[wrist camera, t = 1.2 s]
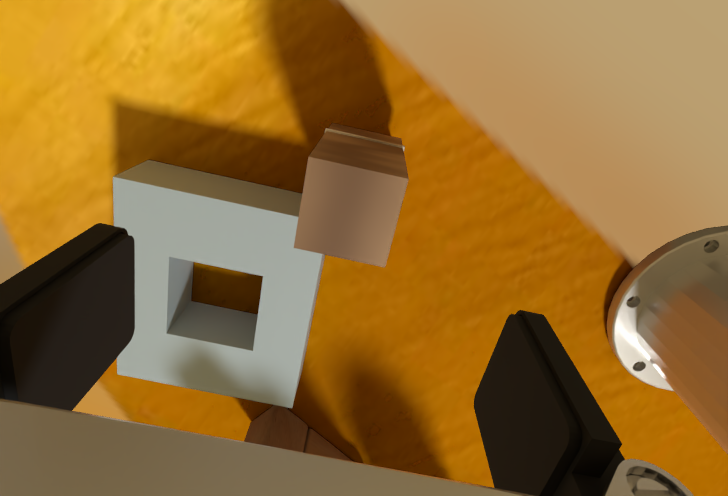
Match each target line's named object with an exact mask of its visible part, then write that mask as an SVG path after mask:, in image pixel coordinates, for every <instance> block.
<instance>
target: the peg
mask: <svg viewBox="0 0 728 496" xmlns="http://www.w3.org/2000/svg"><path fill="white" fill-rule="evenodd" d="M404 148H405V146H403V145H402V140H401V138H397V137H392V136H388V135H383V134H379V133H375V132H370V131H366V130H362V129H357V128H353V127H348V126H344V125H340V124H335V123H332V124H331V125H330V127H329V128H326V129H325V133H324V135H323V137H322V138H321V139H320V141H319V142H318V144H317V145H316V147H315V148H314V149H313V151H312V152H311V154H310V155H309V157H308V163H307V169H306V175H305V181H304V187H303V193H302V199H301V205H300V211H299V217H298V224H297V230H296V236H295V242H294V248H297V249H301V250H306V251H311V252H315V253H320V254H325V255H329V256H334V257H339V258H343V259H348V260H353V261H357V262H362V263H367V264H372V265H376V266H381V267H385V265H386V262H387V258H388V254H389V250H390V247H391V243H392V239H393V235H394V232H395V228H396V224H397V220H398V217H399V213H400V209H401V205H402V202H403V198H404V194H405V190H406V186H407V183H408V174H407V168H406V162H405V157H404Z"/></svg>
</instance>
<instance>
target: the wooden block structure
mask: <svg viewBox="0 0 728 496" xmlns="http://www.w3.org/2000/svg"><path fill="white" fill-rule="evenodd" d="M244 442H248V443H254V444H259V445H265V446H270V447H276V448H281V449H287V450H292V451H298V452H303V453H309V454H314V455H320V456H325V457H331V458H336V459H341V460H347V461H352V460H351V459H349V458H348V457H347V456H346V455H344V454H343V453H342V452H341V451H339V450H338V449H337V448H336V447H334V446H333V445H332V444H330V443H329V442H328V441H327V440H325V439H324V438H323V437H322V436H320V435H319V434H318V433H317V432H315V431H314V430H313V429H311V428H309V429H308V426H307V424H306V423H305V422H303V421H302V420H301V419H300V418H298V417H297V416H296V415H295V414H293V413H292V412H291V411H290V410H288V409H287V408H286V407H283V406H278V405H273V406H272V407H271V408H269V409H268V410H267V411H265V412H264V413H263V414H261V415H260V416H259V417H257V418H256V419H255V420H253V421H252V422H251V424H250V426H249V429H248V432H247V435H246V438H245V440H244ZM352 462H353V461H352Z"/></svg>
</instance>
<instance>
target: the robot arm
mask: <svg viewBox="0 0 728 496" xmlns="http://www.w3.org/2000/svg"><path fill="white" fill-rule="evenodd" d="M134 330H135V242H134V238H133V236H130V235H128V232H127V230H126V229H125V228H121V227H116V226H111V225H107V224H102V223H98V224H96V225H94V226H93V227H91V228H89V229H88V230H86V231H85V232H83V233H81V234H80V235H78V236H77V237H75V238H73V239H72V240H70V241H69V242H67V243H65V244H64V245H62V246H61V247H59V248H57V249H56V250H54V251H53V252H51V253H49V254H48V255H46V256H45V257H43V258H42V259H40V260H38V261H37V262H35V263H34V264H32V265H30V266H29V267H27V268H26V269H24V270H22V271H21V272H19V273H18V274H16V275H14V276H13V277H11V278H10V279H8V280H6V281H5V282H4V283H2V284H0V496H693V494H692V493H691V492H690V491H689V490H688V489H687V488H686V487H685V486H684V485H683V484H682V483H681V482H680V481H679V480H677V479H676V478H674V477H673V476H672V475H670V474H669V473H668V472H666V471H664V470H663V469H661V468H659V467H657V466H655V465H653V464H651V463H648V462H645V461H642V460H636V459H628V460H625V459H624V457H623V456H622V454H621V452H620V451H619V448H620V447H621V445H622V443H621V441H620V440H619V438H618V437H617V435H616V433H615V432H614V430H613V428H612V427H611V425H610V423H609V422H608V420H607V418H606V417H605V415H604V413H603V412H602V410H601V408H600V407H599V405H598V404H597V402H596V400H595V399H594V397H593V395H592V394H591V392H590V390H589V389H588V387H587V385H586V384H585V382H584V380H583V379H582V377H581V375H580V374H579V372H578V371H577V369H576V367H575V366H574V364H573V362H572V361H571V359H570V357H569V356H568V354H567V352H566V351H565V349H564V347H563V346H562V344H561V342H560V341H559V339H558V337H557V336H556V334H555V333H554V331H553V329H552V328H551V326H550V324H549V323H548V321H547V319H546V318H545V316H544V315H542V314H537V313H532V312H527V311H522V310H520V311H518V312H517V313H516V314H515V315H514V314H511V315H509V317H508V318H507V320H506V323H505V325H504V328H503V330H502V332H501V335H500V337H499V339H498V342H497V344H496V347H495V349H494V351H493V354H492V356H491V359H490V361H489V363H488V366H487V368H486V370H485V373H484V375H483V378H482V380H481V382H480V385H479V387H478V390H477V392H476V395H475V399H474V409H475V413H476V417H477V421H478V425H479V429H480V433H481V437H482V440H483V444H484V448H485V452H486V456H487V460H488V464H489V468H490V471H491V475H492V479H493V483H494V487H495V488H492V487H486V486H481V485H476V484H470V483H465V482H460V481H454V480H449V479H444V478H438V477H433V476H428V475H423V474H417V473H412V472H407V471H401V470H396V469H390V468H385V467H379V466H374V465H369V464H363V463H358V462H352V461H347V460H341V459H336V458H331V457H325V456H320V455H314V454H309V453H303V452H298V451H292V450H287V449H281V448H276V447H270V446H265V445H259V444H254V443H248V442H243V441H237V440H232V439H226V438H221V437H215V436H210V435H204V434H199V433H193V432H188V431H182V430H176V429H171V428H165V427H160V426H154V425H149V424H143V423H137V422H132V421H126V420H120V419H114V418H108V417H103V416H98V415H92V414H86V413H81V412H75V411H72V410H73V409H74V407H75V406H76V405H77V404H78V403H79V402H80V401H81V399H82V398H83V397H84V396H85V395H86V393H87V392H88V391H89V390H90V389H91V388H92V386H93V385H94V384H95V383H96V382H97V380H98V379H99V378H100V377H101V376H102V375H103V373H104V372H105V371H106V370H107V369H108V367H109V366H110V365H111V364H112V363H113V362H114V360H115V359H116V358H117V357H118V356H119V354H120V353H121V352H122V351H123V350H124V349H125V347H126V346H127V345H128V344H129V342H130V341H131V339H132V337H133V334H134ZM607 334H608V340H609V343H610V345H611V348H612V350H613V352H614V354H615V355H616V357H617V358H618V359H619V361H620V362H621V364H622V365H623V366H624V367H625V368H626V370H627V371H628V372H629V373H630V374H632V375H633V376H635V377H636V378H638V379H639V380H641V381H642V382H644V383H647V384H649V385H652V386H654V387H657V388H661V389H666V390H671V391H675V392H676V393H677V395H678V396H679V397H680V398H681V399H682V401H683V402H684V403H685V404H686V405H687V407H688V408H689V409H690V410H691V411H692V412H693V414H694V415H695V416H696V417H697V418H698V420H699V421H700V422H701V423H702V424H703V426H704V427H705V428H706V429H707V430H708V431H709V433H710V434H711V435H712V436H713V437H714V439H715V440H716V441H717V442H718V443H719V445H720V446H721V447H722V448H723V449H724V450H725V452H726V453H727V454H728V226H721V227H713V228H706V229H703V230H699V231H696V232H692V233H689V234H686V235H684V236H682V237H679V238H677V239H675V240H673V241H670V242H668V243H666V244H665V245H663V246H662V247H660V248H658V249H657V250H655V251H654V252H652V253H651V254H649V255H648V256H647V257H646V258H645V259H643V260H642V261H641V262H640V263H639V264H638V265H636V266H635V267H634V268H633V270H632V271H631V272H630V273H629V274H628V275H627V277H626V278H625V279H624V280H623V281H622V283H621V285H620V286H619V288H618V290H617V292H616V293H615V295H614V297H613V300H612V302H611V305H610V308H609V311H608V318H607Z"/></svg>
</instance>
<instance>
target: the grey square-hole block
mask: <svg viewBox="0 0 728 496" xmlns="http://www.w3.org/2000/svg"><path fill="white" fill-rule="evenodd" d="M301 199H302V193H297V192H293V191H288V190H284V189H279V188H275V187H270V186H265V185H261V184H256V183H252V182H247V181H243V180H238V179H234V178H229V177H225V176H220V175H215V174H211V173H206V172H202V171H197V170H193V169H188V168H184V167H179V166H174V165H170V164H165V163H161V162H156V161H152V160H147V161H145V162H143V163H141V164H139V165H136V166H134V167H132V168H130V169H128V170H126V171H124V172H122V173H120V174H117V175H115V176H113V204H114V226H116V227H121V228H125V229H126V230H127V232H128V235H130V236H133V238H134V242H135V330H134V334H133V337H132V339H131V341H130V342H129V344H128V345H127V346H126V347H125V349H124V350H123V351H122V352H121V353H120V354H119V356H118V357H117V374H119V375H124V376H129V377H134V378H139V379H144V380H150V381H155V382H160V383H165V384H170V385H175V386H180V387H185V388H191V389H196V390H201V391H206V392H211V393H216V394H221V395H226V396H232V397H237V398H242V399H247V400H252V401H257V402H262V403H267V404H273V405H278V406H283V407H288V408H292V407H293V403H294V399H295V396H296V392H297V388H298V384H299V380H300V376H301V372H302V368H303V363H304V358H305V353H306V348H307V343H308V338H309V333H310V328H311V323H312V318H313V313H314V308H315V302H316V297H317V292H318V287H319V282H320V277H321V272H322V267H323V262H324V257H325V254H320V253H315V252H311V251H306V250H301V249H297V248H294V242H295V236H296V230H297V224H298V217H299V211H300V205H301ZM194 262H197V263H202V264H207V265H212V266H216V267H221V268H226V269H231V270H235V271H240V272H245V273H250V274H255V275H259V276H263V281H262V288H261V295H260V303H259V310H258V315H257V314H252V313H248V312H243V311H238V310H233V309H228V308H223V307H218V306H213V305H208V304H204V303H199V302H194V301H191V296H192V280H193V264H194Z"/></svg>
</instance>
